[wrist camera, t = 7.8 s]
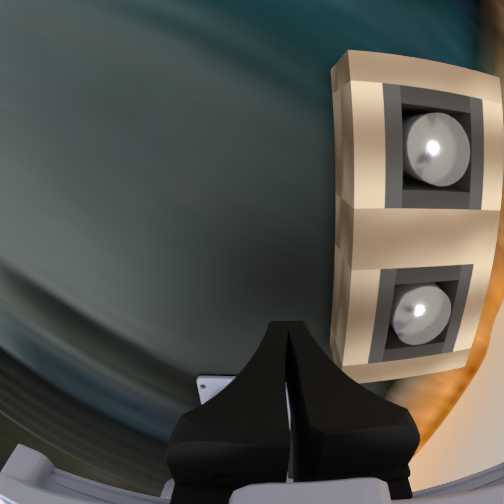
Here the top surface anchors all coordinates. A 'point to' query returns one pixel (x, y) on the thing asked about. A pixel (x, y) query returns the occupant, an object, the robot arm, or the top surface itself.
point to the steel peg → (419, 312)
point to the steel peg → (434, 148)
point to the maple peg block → (409, 211)
